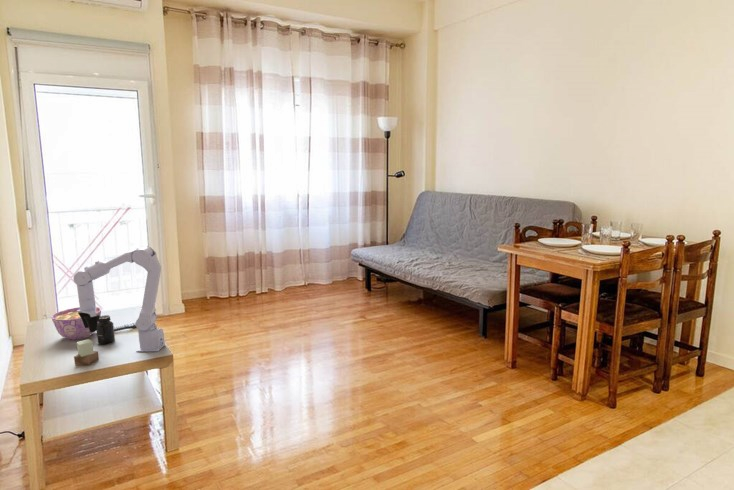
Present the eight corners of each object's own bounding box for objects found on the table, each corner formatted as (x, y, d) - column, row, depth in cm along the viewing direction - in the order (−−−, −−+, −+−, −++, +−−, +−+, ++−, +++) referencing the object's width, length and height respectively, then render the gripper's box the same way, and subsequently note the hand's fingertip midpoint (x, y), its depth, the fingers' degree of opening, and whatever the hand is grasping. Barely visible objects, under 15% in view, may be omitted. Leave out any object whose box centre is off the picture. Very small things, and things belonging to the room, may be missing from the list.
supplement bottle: (96, 346, 212) (93, 320, 210) (100, 340, 219) (97, 315, 217) (113, 344, 214) (110, 318, 212) (116, 338, 220) (113, 313, 218)
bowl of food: (65, 348, 211) (62, 322, 209) (47, 338, 223) (43, 314, 221) (112, 334, 226) (109, 310, 224) (92, 326, 238) (89, 303, 236)
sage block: (90, 350, 197) (88, 339, 196) (93, 353, 194) (92, 341, 193) (77, 353, 194) (76, 342, 193) (81, 356, 191) (79, 344, 190)
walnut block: (99, 360, 197) (97, 350, 197) (89, 366, 191) (87, 356, 191) (85, 359, 198) (84, 350, 197) (75, 366, 192) (73, 356, 191)
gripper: (71, 297, 203) (75, 327, 205) (80, 303, 192) (84, 336, 195) (89, 293, 208) (93, 323, 210) (100, 300, 197) (103, 331, 200)
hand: (90, 329), depth 203 cm, fingers open, 7 cm apart
